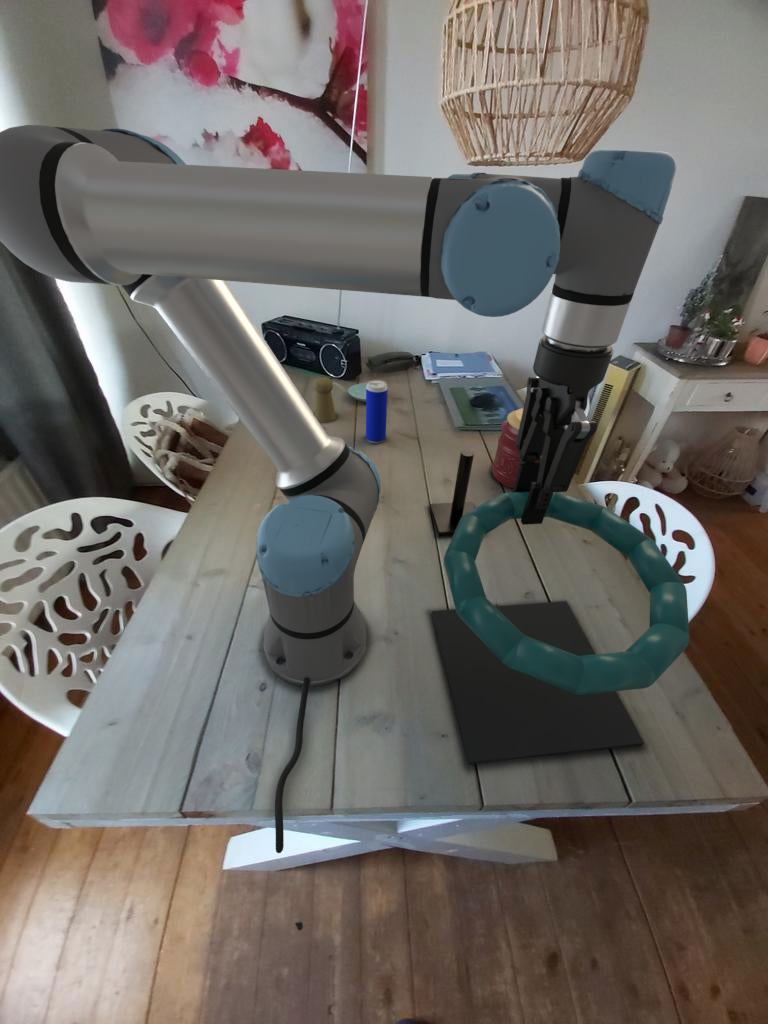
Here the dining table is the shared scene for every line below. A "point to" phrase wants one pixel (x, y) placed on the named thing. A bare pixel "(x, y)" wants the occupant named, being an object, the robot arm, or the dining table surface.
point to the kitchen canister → (508, 451)
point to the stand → (454, 499)
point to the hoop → (550, 662)
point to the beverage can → (376, 411)
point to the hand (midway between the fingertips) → (525, 512)
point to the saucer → (358, 391)
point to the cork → (324, 400)
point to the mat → (526, 692)
